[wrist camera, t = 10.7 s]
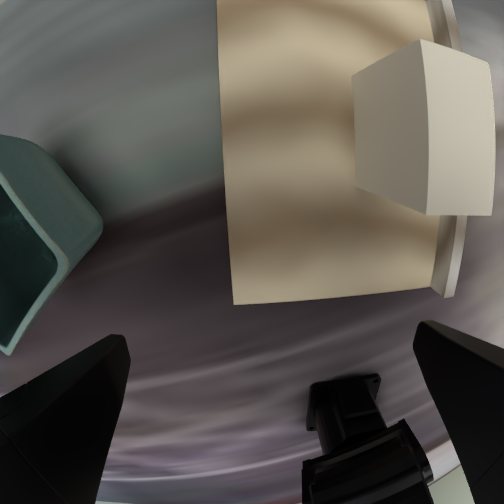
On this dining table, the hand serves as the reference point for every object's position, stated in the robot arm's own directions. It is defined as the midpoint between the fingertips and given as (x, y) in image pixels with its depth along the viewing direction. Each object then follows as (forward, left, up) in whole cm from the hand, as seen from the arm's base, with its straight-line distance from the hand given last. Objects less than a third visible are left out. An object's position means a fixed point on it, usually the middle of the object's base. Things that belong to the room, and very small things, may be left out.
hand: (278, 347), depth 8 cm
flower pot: (+3, +14, -12) cm, 19 cm away
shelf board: (+7, -6, -12) cm, 15 cm away
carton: (+6, -8, -11) cm, 15 cm away
